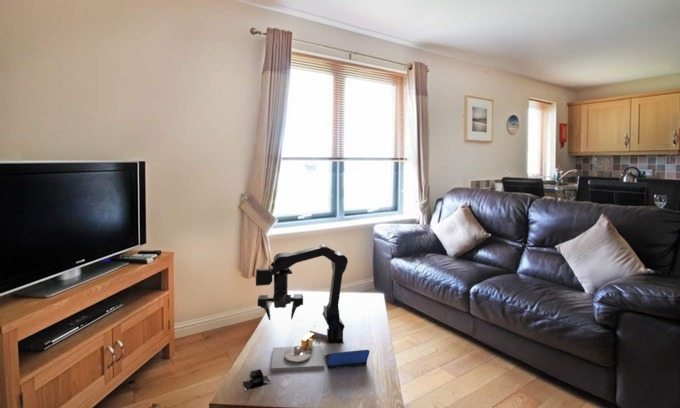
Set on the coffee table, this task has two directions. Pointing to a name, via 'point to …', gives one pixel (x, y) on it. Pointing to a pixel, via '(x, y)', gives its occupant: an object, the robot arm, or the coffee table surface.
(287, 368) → the base plate
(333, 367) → the handheld game console
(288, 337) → the coffee table surface
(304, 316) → the coffee table surface
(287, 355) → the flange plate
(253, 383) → the black angular piece
